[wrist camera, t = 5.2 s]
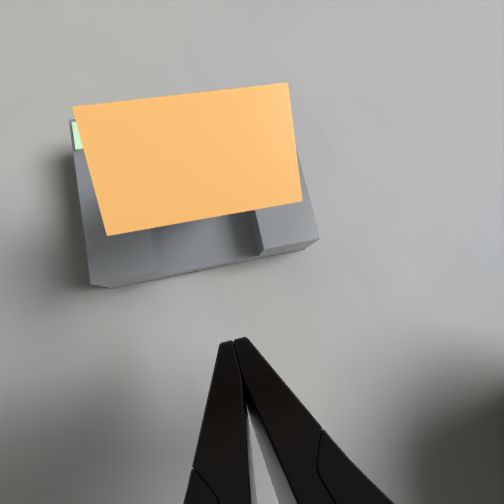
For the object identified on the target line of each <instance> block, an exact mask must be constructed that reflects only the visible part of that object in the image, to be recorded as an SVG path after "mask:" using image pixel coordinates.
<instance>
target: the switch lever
mask: <svg viewBox="0 0 504 504" xmlns="http://www.w3.org/2000/svg"><path fill="white" fill-rule="evenodd" d="M72 109H73V112H74V116H75V120H76V123H77V127H78V131H79V135H80V138H81V142H82V146H83V149H84V153H85V157H86V160H87V164H88V168H89V171H90V175H91V179H92V182H93V186H94V190H95V193H96V197H97V201H98V205H99V208H100V212H101V216H102V219H103V223H104V227H105V230H106V234H107V236H110V235H116V234H121V233H127V232H133V231H138V230H144V229H150V228H155V227H161V226H166V225H172V224H178V223H183V222H189V221H194V220H200V219H206V218H211V217H217V216H222V215H228V214H234V213H239V212H245V211H251V210H256V209H262V208H267V207H273V206H279V205H284V204H290V203H295V202H301V201H302V193H301V185H300V176H299V168H298V160H297V152H296V144H295V136H294V127H293V119H292V111H291V103H290V95H289V87H288V83H279V84H270V85H261V86H252V87H244V88H235V89H226V90H217V91H208V92H199V93H190V94H181V95H172V96H163V97H155V98H146V99H137V100H128V101H119V102H110V103H101V104H92V105H83V106H74V107H72Z"/></svg>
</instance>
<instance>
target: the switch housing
mask: <svg viewBox="0 0 504 504" xmlns="http://www.w3.org/2000/svg"><path fill="white" fill-rule="evenodd" d="M69 125H70V133H71V140H72V148H73V155H74V163H75V170H76V178H77V186H78V193H79V201H80V208H81V216H82V223H83V231H84V238H85V246H86V253H87V261H88V268H89V276H90V284H92V285H97V286H102V287H107V288H117V287H121V286H126V285H131V284H136V283H141V282H146V281H151V280H156V279H160V278H165V277H170V276H175V275H180V274H185V273H190V272H195V271H200V270H204V269H209V268H214V267H219V266H224V265H229V264H234V263H239V262H244V261H248V260H253V259H258V258H263V257H268V256H273V255H278V254H283V253H288V252H292V251H297V250H302V249H305V248H307V247H308V246H310V245H311V244H312V243H314V242H315V241H317V240H318V239H320V236H319V232H318V228H317V224H316V221H315V217H314V213H313V209H312V206H311V202H310V198H309V195H308V191H307V187H306V183H305V180H304V176H303V172H302V168H301V165H300V161H299V157H298V153H297V160H298V168H299V176H300V185H301V193H302V201H301V202H295V203H290V204H284V205H279V206H273V207H267V208H262V209H256V210H251V211H245V212H239V213H234V214H228V215H222V216H217V217H211V218H206V219H200V220H194V221H189V222H183V223H178V224H172V225H166V226H161V227H155V228H150V229H144V230H138V231H133V232H127V233H121V234H116V235H110V236H107V234H106V230H105V227H104V223H103V219H102V216H101V212H100V208H99V205H98V201H97V197H96V193H95V190H94V186H93V182H92V179H91V175H90V171H89V168H88V164H87V160H86V157H85V153H84V149H83V146H82V142H81V138H80V135H79V131H78V127H77V123H76V120H75V119H73V120H69ZM296 152H297V150H296Z"/></svg>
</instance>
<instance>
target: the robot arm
mask: <svg viewBox="0 0 504 504" xmlns="http://www.w3.org/2000/svg"><path fill="white" fill-rule="evenodd" d="M246 405H247V406H246ZM247 409H248V412H247ZM248 413H249V416H250V419H251V422H252V425H253V428H254V431H255V434H256V437H257V440H258V443H259V446H260V448H261V451H262V454H263V457H264V460H265V463H266V466H267V469H268V472H269V475H270V478H271V481H272V483H273V486H274V489H275V492H276V495H277V498H278V501H279V504H394V503H393V502H392V501H391V500H390V499H389V498H388V497H387V496H386V495H385V494H384V493H383V492H382V491H381V490H380V489H379V488H378V487H377V486H376V485H375V484H374V483H373V482H372V481H371V480H370V479H368V477H367V476H366V475H365V474H364V473H363V472H362V471H361V470H360V469H359V468H358V467H357V466H356V465H355V464H354V463H353V462H352V461H351V460H350V459H349V458H348V457H347V456H346V454H345V453H344V452H343V451H342V450H341V449H340V448H339V447H338V445H337V444H336V443H335V442H334V441H333V440H332V438H331V437H330V436H329V435H328V434H327V432H326V431H325V430H324V429H322V427H321V425H320V424H319V423H318V422H317V421H316V419H315V418H314V417H313V416H312V415H311V413H310V412H309V411H308V410H307V409H306V407H305V406H304V405H303V404H302V403H301V401H300V400H299V399H298V398H297V397H296V396H295V394H294V393H293V392H292V391H291V390H290V388H289V387H288V386H287V385H286V384H285V382H284V381H283V380H282V379H281V378H280V376H279V375H278V374H277V373H276V372H275V370H274V369H273V368H272V367H271V366H270V364H269V363H268V362H267V361H266V360H265V358H264V357H263V356H262V355H261V354H260V352H259V351H258V350H257V349H256V348H255V346H254V345H253V344H252V343H251V342H250V340H249V339H248V338H246V337H243V338H239V339H235V340H234V342H233V341H231V340H230V341H226V342H222V343H220V345H219V349H218V353H217V358H216V362H215V367H214V371H213V376H212V380H211V385H210V389H209V394H208V398H207V403H206V407H205V412H204V416H203V421H202V425H201V430H200V434H199V439H198V443H197V448H196V452H195V457H194V461H193V466H192V467H193V469H192V470H191V474H190V478H189V483H188V487H187V491H186V495H185V499H184V503H183V504H257V499H256V489H255V479H254V469H253V459H252V449H251V439H250V429H249V420H248ZM321 430H322V431H321Z"/></svg>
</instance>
